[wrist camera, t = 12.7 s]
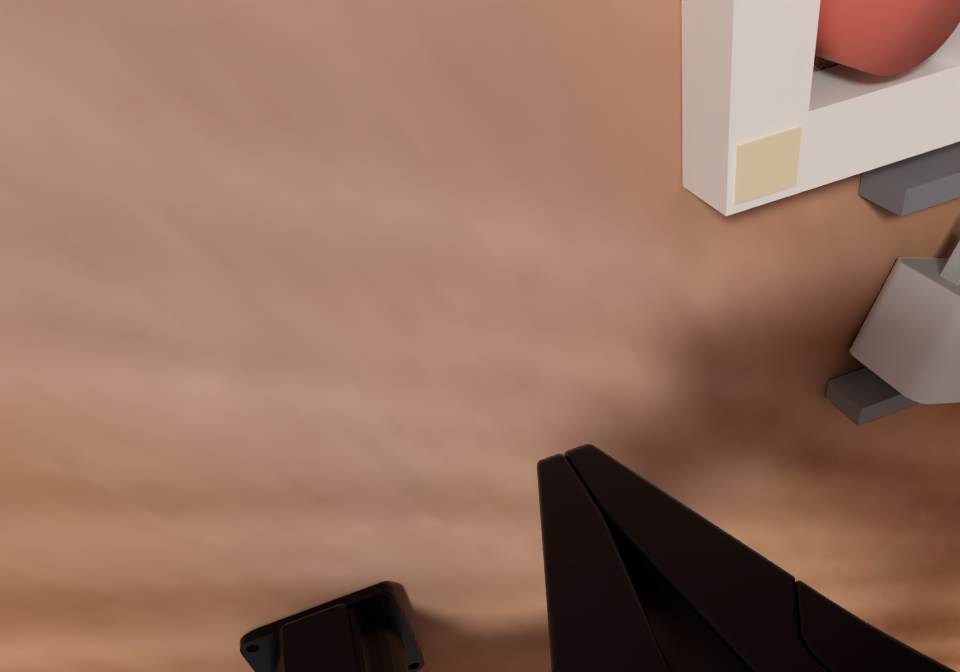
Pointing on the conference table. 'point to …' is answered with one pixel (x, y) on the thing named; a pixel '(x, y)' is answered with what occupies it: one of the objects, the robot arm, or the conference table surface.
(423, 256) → the conference table surface
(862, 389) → the bracket
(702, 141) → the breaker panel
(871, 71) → the button
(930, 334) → the usb wall charger
